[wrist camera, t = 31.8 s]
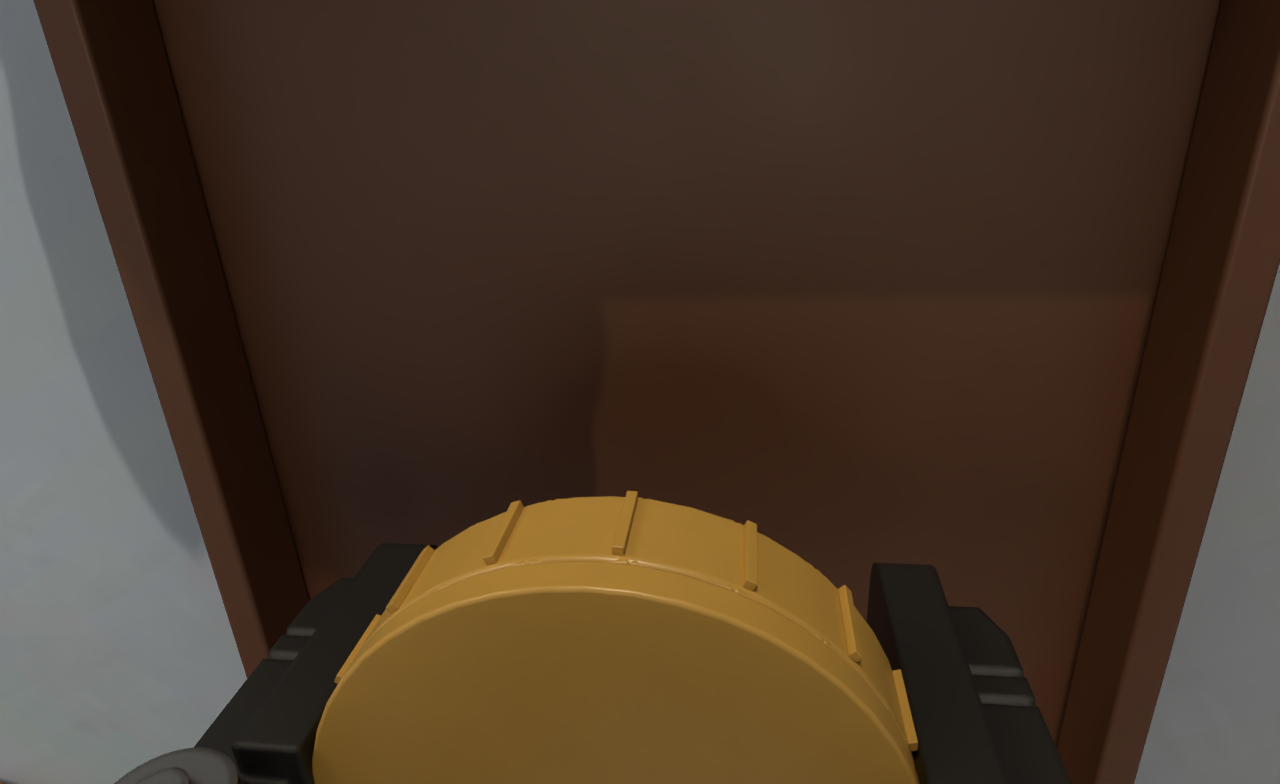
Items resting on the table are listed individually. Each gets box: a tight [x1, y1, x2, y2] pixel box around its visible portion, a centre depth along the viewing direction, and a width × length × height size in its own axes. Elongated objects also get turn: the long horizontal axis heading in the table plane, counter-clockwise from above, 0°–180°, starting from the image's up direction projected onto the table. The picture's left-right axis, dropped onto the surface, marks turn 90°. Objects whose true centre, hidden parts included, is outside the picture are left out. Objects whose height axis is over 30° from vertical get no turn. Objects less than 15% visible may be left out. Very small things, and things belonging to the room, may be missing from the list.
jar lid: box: [312, 491, 920, 784], centre depth 8 cm, size 6×6×2 cm
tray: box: [34, 0, 1280, 784], centre depth 13 cm, size 19×15×2 cm
